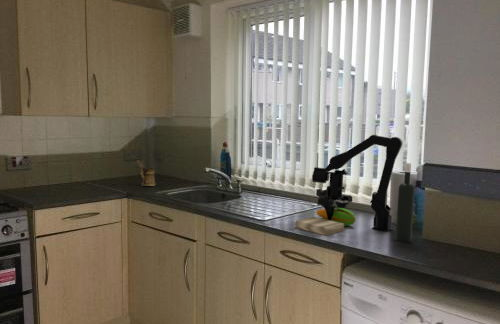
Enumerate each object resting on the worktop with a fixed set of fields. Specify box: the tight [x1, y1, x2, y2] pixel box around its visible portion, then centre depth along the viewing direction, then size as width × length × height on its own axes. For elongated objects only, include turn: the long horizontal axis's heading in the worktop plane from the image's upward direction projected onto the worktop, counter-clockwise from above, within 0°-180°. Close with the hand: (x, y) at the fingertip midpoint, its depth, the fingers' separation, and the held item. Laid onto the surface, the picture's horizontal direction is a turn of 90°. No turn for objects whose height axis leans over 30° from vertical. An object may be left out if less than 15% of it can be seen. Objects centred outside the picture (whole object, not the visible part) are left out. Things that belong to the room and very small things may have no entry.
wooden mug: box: [136, 159, 157, 187], centre depth 283 cm, size 9×14×18 cm, turn 141°
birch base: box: [294, 216, 345, 236], centre depth 184 cm, size 16×12×3 cm
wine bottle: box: [395, 162, 415, 243], centre depth 169 cm, size 6×6×30 cm
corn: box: [316, 206, 356, 227], centre depth 194 cm, size 7×8×20 cm
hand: (334, 219), depth 194 cm, fingers closed on corn, 7 cm apart
